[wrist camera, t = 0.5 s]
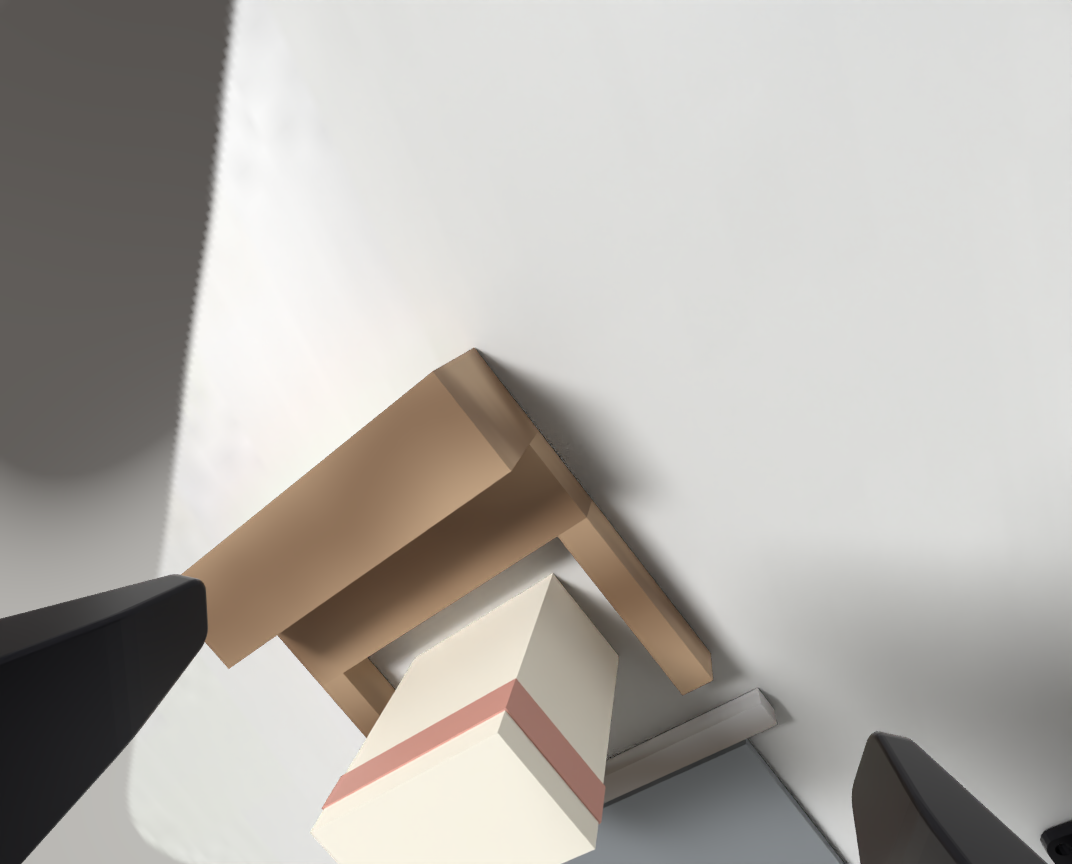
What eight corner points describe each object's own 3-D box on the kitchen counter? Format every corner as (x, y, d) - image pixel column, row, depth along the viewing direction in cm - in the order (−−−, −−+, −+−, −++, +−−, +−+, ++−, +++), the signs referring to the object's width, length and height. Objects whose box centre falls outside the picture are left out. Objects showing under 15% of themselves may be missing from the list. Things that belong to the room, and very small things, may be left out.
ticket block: (620, 656, 24) (598, 850, 16) (477, 733, 26) (400, 934, 19) (553, 571, 23) (497, 730, 16) (413, 657, 26) (307, 831, 18)
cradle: (773, 708, 23) (793, 800, 19) (481, 843, 28) (452, 939, 24) (488, 336, 21) (448, 358, 18) (225, 546, 26) (150, 599, 22)
